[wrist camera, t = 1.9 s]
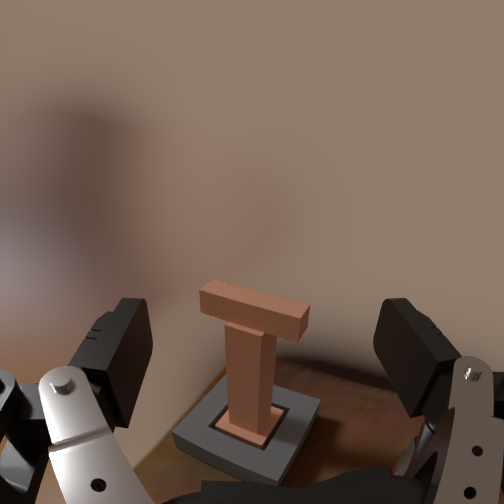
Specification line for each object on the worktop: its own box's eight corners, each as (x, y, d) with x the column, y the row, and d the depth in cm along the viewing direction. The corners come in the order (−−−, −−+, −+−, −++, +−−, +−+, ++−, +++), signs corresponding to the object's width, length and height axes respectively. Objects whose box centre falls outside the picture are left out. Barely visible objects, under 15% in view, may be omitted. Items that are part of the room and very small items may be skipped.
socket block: (316, 416, 31) (320, 399, 30) (275, 493, 22) (277, 481, 20) (231, 386, 35) (230, 369, 34) (176, 447, 26) (171, 431, 25)
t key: (294, 431, 29) (316, 295, 23) (274, 465, 25) (292, 330, 19) (229, 406, 32) (224, 272, 26) (204, 435, 28) (187, 298, 22)
